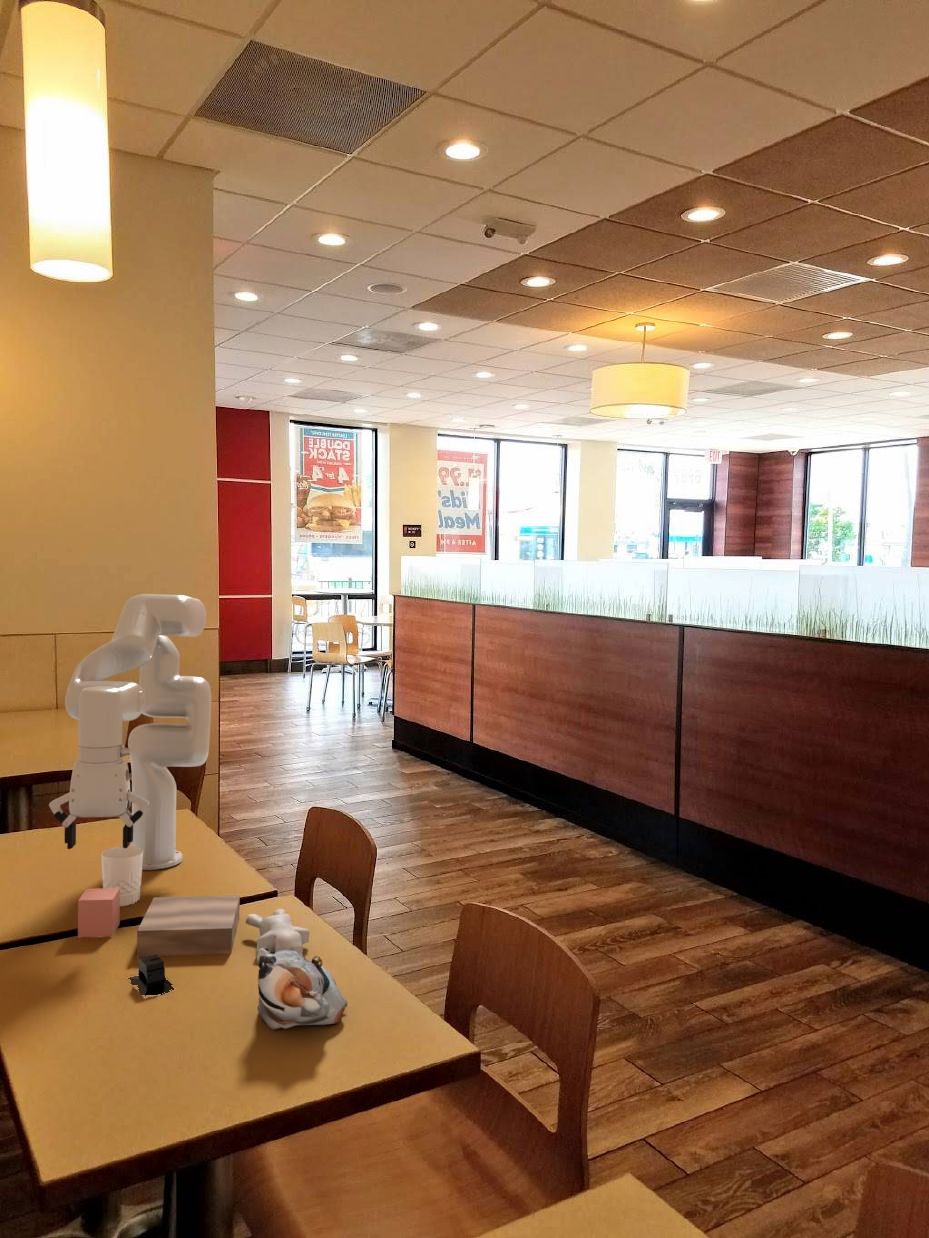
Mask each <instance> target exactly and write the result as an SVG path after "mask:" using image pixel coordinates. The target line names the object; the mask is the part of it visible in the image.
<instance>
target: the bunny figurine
mask: <svg viewBox="0 0 929 1238" xmlns="http://www.w3.org/2000/svg"><path fill="white" fill-rule="evenodd" d="M292 923H293V922H292V918H291V916H290V914H288V913H286V910H285V909H282V908H278V909H276V910H274V911H273V915H270V916H267V917H262V916H260V915H258V914H255V913H251V914H250V913H249V914H248V915H247V918H246V920H245V924H246V925H248V926H252V927H254V928H257V929H259V930H258V931H259V935H260V936H259V937H257V938H256V951H257V950H259V949H261V948H263V947H267V948H268V950H269V951H270V953H274V954H275V953H276V952H278V951H282V950H292V951H296V952H297V953H298V954H302V955H303V952H304V951H303V950H304V947H303V945H305V944H306V943H309V941H310V930H309V929H308V928H304V927H300V926H294V925H293V924H292Z"/></svg>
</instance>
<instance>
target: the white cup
mask: <svg viewBox="0 0 929 1238" xmlns="http://www.w3.org/2000/svg"><path fill="white" fill-rule="evenodd" d="M100 854H101V877H102V888H120V907H126V906H131V905H134V904H136V903H137V901H138V900H139V901H140V897H141V887H142V879H143V878H142V877H143V870H142V863H143V850H142V849H141V848H138V847H133V846H132V845H129V846H128V848H123V845H122V846H115V847H110V848H108V849H107V848H106V849H105V850H103V851H102V852H101V853H100ZM139 901H138V902H139ZM135 902H136V903H135ZM130 904H131V905H130Z"/></svg>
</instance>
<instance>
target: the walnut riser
mask: <svg viewBox="0 0 929 1238" xmlns="http://www.w3.org/2000/svg"><path fill="white" fill-rule="evenodd" d="M240 898H241V897H240V895H207V896H206V895H205V896H201V895H199V896H165V897H163V896H161V897H160V896H159V897H157V896H156V897H153V898H152V901H151V903H150V905H149V907H148V908H147V911H146V912H145V914H144V916H143V918H142V921H141V923H140V925H139V927H138V929H137V931H136V934H137V936H136V939H137V940H136V957H137V956H142V957H147V956H151V955H155V954H157V955H158V956H159V957H162V956H163V957H164V956H165V957H167V955H168V957H169V955H173V956H194V955H195V956H196V955H198V956H201V955H203V956H204V955H228V954H229V955H231V954H232V953H233V948H234V944H235V938H236V934H237V931H238V926H239V922H240V907H241V906H240V905H241V904H240V903H241V901H240V900H241V899H240Z"/></svg>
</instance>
